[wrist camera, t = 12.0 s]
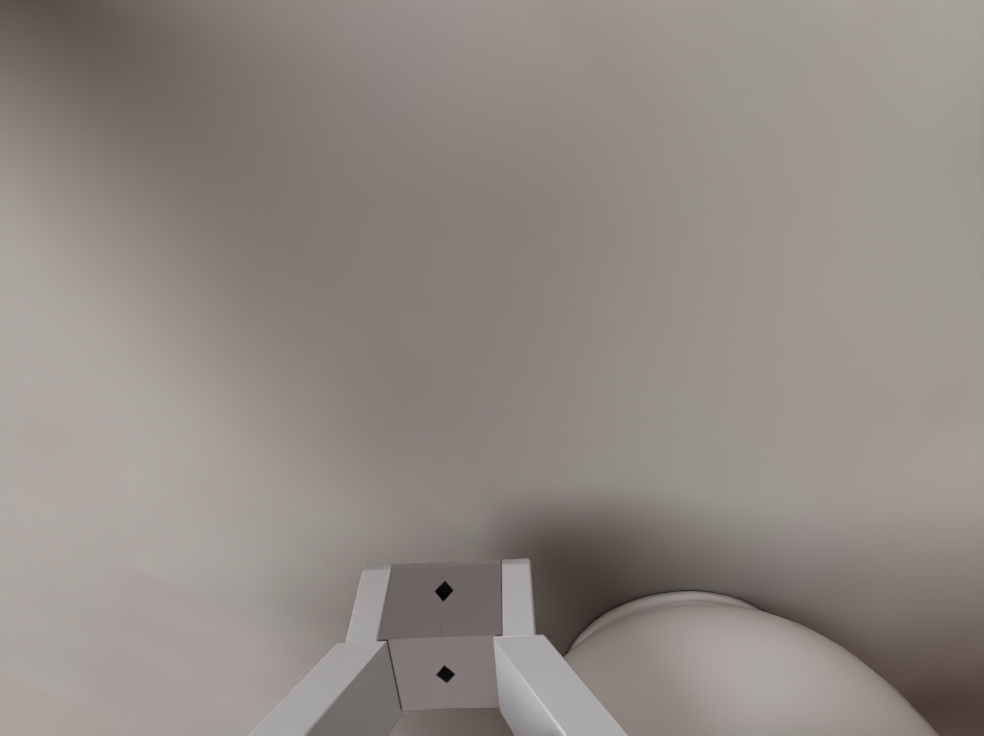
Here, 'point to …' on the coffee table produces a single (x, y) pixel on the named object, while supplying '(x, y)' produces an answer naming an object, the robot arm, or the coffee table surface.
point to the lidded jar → (731, 673)
